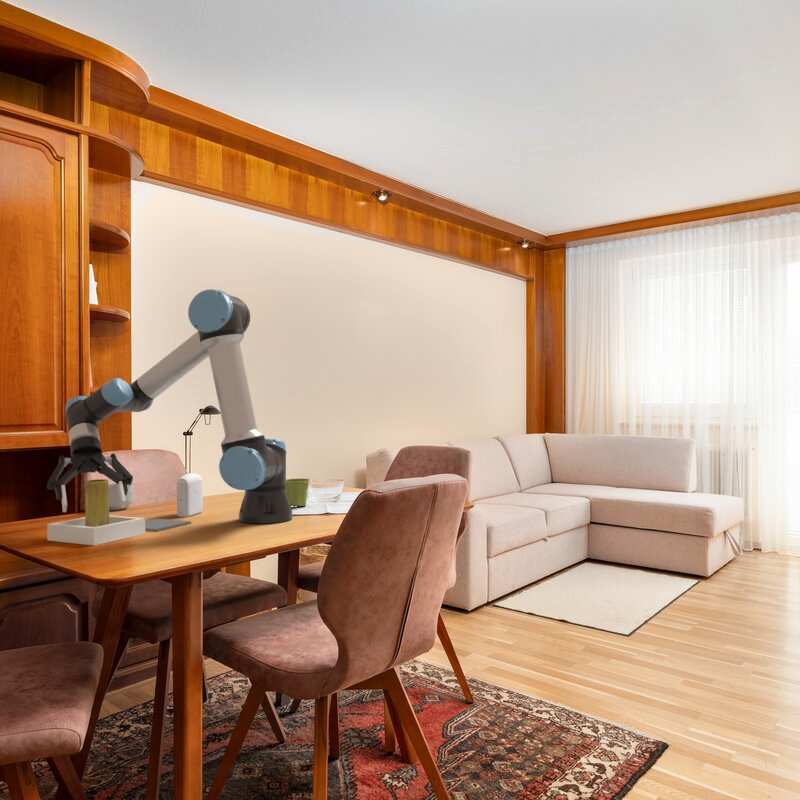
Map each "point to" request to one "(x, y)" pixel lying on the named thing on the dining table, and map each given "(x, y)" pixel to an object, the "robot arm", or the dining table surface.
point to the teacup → (114, 497)
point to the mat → (163, 524)
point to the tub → (95, 530)
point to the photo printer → (189, 495)
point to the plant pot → (297, 491)
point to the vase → (97, 503)
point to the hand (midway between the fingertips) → (94, 506)
